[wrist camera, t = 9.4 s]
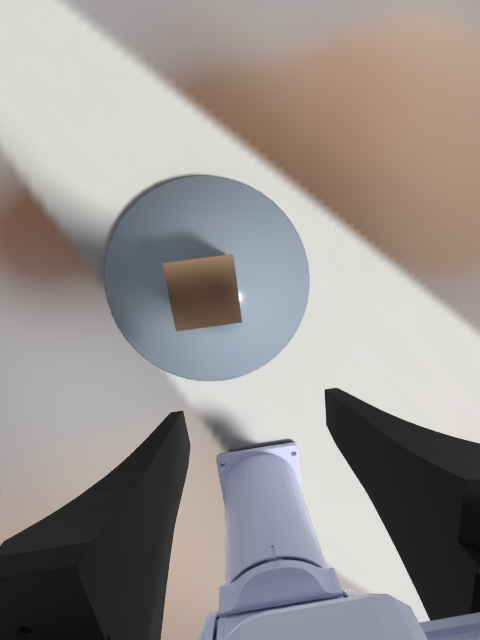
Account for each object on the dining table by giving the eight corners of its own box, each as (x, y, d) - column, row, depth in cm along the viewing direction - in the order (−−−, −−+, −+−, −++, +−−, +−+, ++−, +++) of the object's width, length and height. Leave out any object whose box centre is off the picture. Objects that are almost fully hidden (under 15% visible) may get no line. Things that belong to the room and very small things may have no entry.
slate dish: (311, 362, 21) (314, 367, 20) (136, 387, 21) (131, 393, 20) (298, 168, 18) (302, 162, 17) (86, 194, 17) (78, 190, 16)
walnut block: (238, 308, 19) (242, 322, 14) (188, 314, 19) (175, 331, 14) (231, 257, 18) (233, 254, 13) (179, 264, 18) (162, 263, 13)
